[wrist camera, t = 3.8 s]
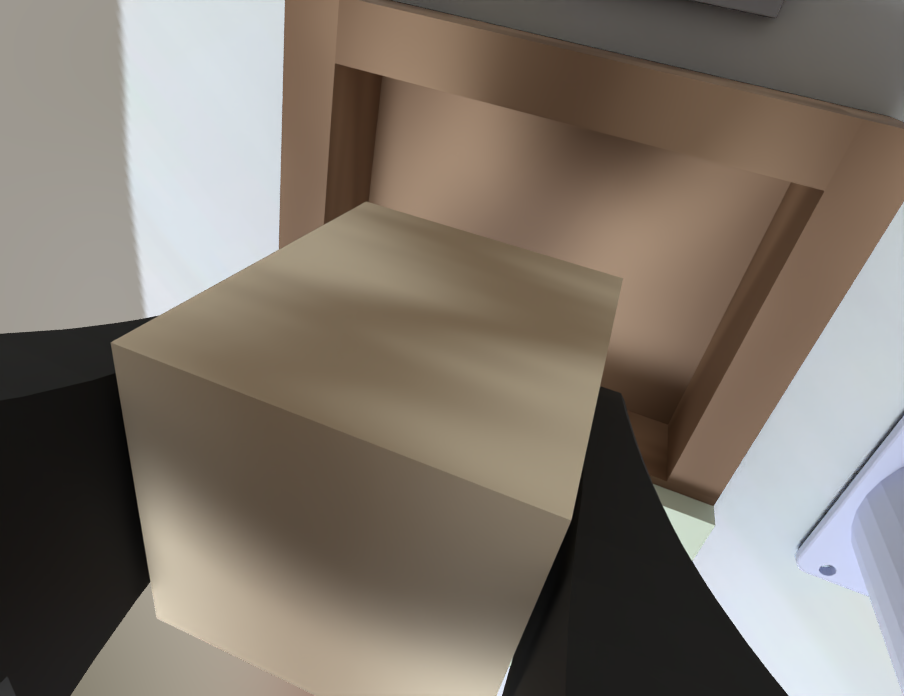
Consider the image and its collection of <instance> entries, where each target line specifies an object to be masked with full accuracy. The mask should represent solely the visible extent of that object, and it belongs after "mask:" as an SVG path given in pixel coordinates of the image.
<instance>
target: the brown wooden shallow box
mask: <svg viewBox="0 0 904 696" xmlns="http://www.w3.org/2000/svg"><path fill="white" fill-rule="evenodd" d="M364 202H370V203H373V204H376V205H380V206H383V207H386V208H390V209H393V210H396V211H400V212H403V213H406V214H410V215H413V216H416V217H420V218H423V219H426V220H430V221H433V222H436V223H440V224H443V225H446V226H450V227H453V228H456V229H460V230H463V231H466V232H470V233H473V234H477V235H480V236H483V237H487V238H490V239H493V240H497V241H500V242H503V243H507V244H510V245H513V246H517V247H520V248H523V249H527V250H530V251H533V252H537V253H540V254H543V255H547V256H550V257H553V258H557V259H560V260H563V261H567V262H570V263H573V264H577V265H580V266H583V267H587V268H590V269H593V270H597V271H600V272H604V273H607V274H610V275H614V276H617V277H620V278H623V281H622V286H621V290H620V295H619V300H618V304H617V309H616V314H615V318H614V323H613V328H612V332H611V337H610V342H609V347H608V351H607V356H606V361H605V365H604V370H603V375H602V379H601V384H600V386H601V387H604V388H607V389H610V390H613V391H616V392H619V393H621V394H622V396H623V398H624V400H625V404H626V408H627V412H628V415H629V419H630V422H631V425H632V429H633V432H634V435H635V438H636V441H637V444H638V447H639V449H640V452H641V455H642V458H643V460H644V463H645V465H646V468H647V470H648V473H649V475H650V478H651V480H652V483H653V484H655V485H657V486H660V487H663V488H665V489H668V490H671V491H674V492H676V493H679V494H682V495H684V496H687V497H690V498H692V499H695V500H698V501H701V502H703V503H706V504H709V505H711V506H714V504H715V503H716V501H717V500H718V498H719V496H720V495H721V493H722V492H723V490H724V488H725V487H726V485H727V484H728V482H729V480H730V479H731V477H732V476H733V474H734V472H735V471H736V469H737V468H738V466H739V464H740V463H741V461H742V459H743V458H744V456H745V455H746V453H747V451H748V450H749V448H750V447H751V445H752V443H753V442H754V440H755V439H756V437H757V435H758V434H759V432H760V431H761V429H762V427H763V426H764V424H765V423H766V421H767V419H768V418H769V416H770V415H771V413H772V411H773V410H774V408H775V407H776V405H777V403H778V402H779V400H780V399H781V397H782V395H783V394H784V392H785V391H786V389H787V387H788V386H789V384H790V383H791V381H792V379H793V378H794V376H795V375H796V373H797V371H798V370H799V368H800V367H801V365H802V363H803V362H804V360H805V359H806V357H807V355H808V354H809V352H810V351H811V349H812V347H813V346H814V344H815V343H816V341H817V339H818V338H819V336H820V335H821V333H822V331H823V330H824V328H825V327H826V325H827V323H828V322H829V320H830V319H831V317H832V315H833V314H834V312H835V311H836V309H837V307H838V306H839V304H840V303H841V301H842V299H843V298H844V296H845V295H846V293H847V291H848V290H849V288H850V287H851V285H852V283H853V282H854V280H855V279H856V277H857V275H858V274H859V272H860V271H861V269H862V267H863V266H864V264H865V263H866V261H867V259H868V258H869V256H870V255H871V253H872V251H873V250H874V248H875V247H876V245H877V243H878V242H879V240H880V239H881V237H882V235H883V234H884V232H885V231H886V229H887V227H888V226H889V224H890V223H891V221H892V219H893V218H894V216H895V215H896V213H897V211H898V210H899V208H900V207H901V205H902V203H903V202H904V122H902V121H899V120H897V119H894V118H892V117H889V116H885V115H881V114H877V113H872V112H868V111H864V110H859V109H855V108H851V107H847V106H842V105H838V104H834V103H829V102H825V101H821V100H817V99H812V98H808V97H804V96H799V95H795V94H791V93H786V92H782V91H778V90H774V89H769V88H765V87H761V86H756V85H752V84H748V83H744V82H739V81H735V80H731V79H726V78H722V77H718V76H713V75H709V74H705V73H701V72H696V71H692V70H688V69H683V68H679V67H675V66H671V65H666V64H662V63H658V62H653V61H649V60H645V59H641V58H636V57H632V56H628V55H623V54H619V53H615V52H610V51H606V50H602V49H598V48H593V47H589V46H585V45H580V44H576V43H572V42H568V41H563V40H559V39H555V38H550V37H546V36H542V35H538V34H533V33H529V32H525V31H520V30H516V29H512V28H507V27H503V26H499V25H495V24H490V23H486V22H482V21H477V20H473V19H469V18H465V17H460V16H456V15H452V14H447V13H443V12H439V11H434V10H430V9H426V8H422V7H417V6H413V5H409V4H404V3H400V2H396V1H392V0H285V23H284V64H283V104H282V144H281V185H280V225H279V249H281V248H283V247H285V246H287V245H288V244H290V243H292V242H294V241H296V240H297V239H299V238H301V237H303V236H305V235H306V234H308V233H310V232H312V231H314V230H316V229H317V228H319V227H321V226H323V225H325V224H326V223H328V222H330V221H332V220H334V219H335V218H337V217H339V216H341V215H343V214H345V213H346V212H348V211H350V210H352V209H354V208H355V207H357V206H359V205H361V204H363V203H364Z"/></svg>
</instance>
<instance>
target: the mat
mask: <svg viewBox="0 0 904 696" xmlns="http://www.w3.org/2000/svg"><path fill="white" fill-rule="evenodd" d="M691 1H695V2H700V3H705V4H710V5H714V6H719V7H724V8H729V9H733V10H738V11H743V12H748V13H752V14H757V15H762V16H767V17H771V18H777V16H778V13H779V11H780V9H781V6H782V4H783V1H784V0H691Z"/></svg>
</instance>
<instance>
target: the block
mask: <svg viewBox="0 0 904 696" xmlns="http://www.w3.org/2000/svg"><path fill="white" fill-rule="evenodd" d="M622 281H623V278H620V277H617V276H614V275H610V274H607V273H604V272H600V271H597V270H593V269H590V268H587V267H583V266H580V265H577V264H573V263H570V262H567V261H563V260H560V259H557V258H553V257H550V256H547V255H543V254H540V253H537V252H533V251H530V250H527V249H523V248H520V247H517V246H513V245H510V244H507V243H503V242H500V241H497V240H493V239H490V238H487V237H483V236H480V235H477V234H473V233H470V232H466V231H463V230H460V229H456V228H453V227H450V226H446V225H443V224H440V223H436V222H433V221H430V220H426V219H423V218H420V217H416V216H413V215H410V214H406V213H403V212H400V211H396V210H393V209H390V208H386V207H383V206H380V205H376V204H373V203H370V202H364V203H363V204H361V205H359V206H357V207H355V208H354V209H352V210H350V211H348V212H346V213H345V214H343V215H341V216H339V217H337V218H335V219H334V220H332V221H330V222H328V223H326V224H325V225H323V226H321V227H319V228H317V229H316V230H314V231H312V232H310V233H308V234H306V235H305V236H303V237H301V238H299V239H297V240H296V241H294V242H292V243H290V244H288V245H287V246H285V247H283V248H281V249H279V250H277V251H276V252H274V253H272V254H270V255H268V256H267V257H265V258H263V259H261V260H259V261H257V262H256V263H254V264H252V265H250V266H248V267H247V268H245V269H243V270H241V271H239V272H238V273H236V274H234V275H232V276H230V277H228V278H227V279H225V280H223V281H221V282H219V283H218V284H216V285H214V286H212V287H210V288H209V289H207V290H205V291H203V292H201V293H199V294H198V295H196V296H194V297H192V298H190V299H189V300H187V301H185V302H183V303H181V304H180V305H178V306H176V307H174V308H172V309H170V310H169V311H167V312H165V313H163V314H161V315H160V316H158V317H156V318H154V319H152V320H151V321H149V322H147V323H145V324H143V325H141V326H140V327H138V328H136V329H134V330H132V331H131V332H129V333H127V334H125V335H123V336H122V337H120V338H118V339H116V340H114V341H112V342H111V348H112V354H113V360H114V366H115V372H116V378H117V384H118V390H119V396H120V402H121V408H122V414H123V420H124V426H125V432H126V438H127V444H128V450H129V456H130V462H131V468H132V474H133V480H134V486H135V492H136V498H137V504H138V510H139V516H140V522H141V528H142V534H143V540H144V546H145V552H146V558H147V564H148V570H149V576H150V582H151V587H152V594H153V600H154V605H155V612H156V618H157V619H159V620H161V621H163V622H165V623H167V624H170V625H172V626H174V627H176V628H178V629H180V630H182V631H184V632H186V633H188V634H190V635H192V636H194V637H196V638H198V639H200V640H202V641H204V642H206V643H208V644H210V645H212V646H215V647H217V648H219V649H221V650H223V651H225V652H227V653H229V654H231V655H233V656H235V657H237V658H239V659H241V660H243V661H245V662H247V663H249V664H252V665H253V666H255V667H258V668H260V669H262V670H264V671H266V672H268V673H270V674H272V675H274V676H276V677H278V678H280V679H282V680H284V681H287V682H288V683H290V684H292V685H295V686H296V687H299V688H301V689H303V690H305V691H307V692H309V693H311V694H313V695H315V696H496V695H497V693H498V690H499V688H500V686H501V683H502V681H503V679H504V676H505V674H506V672H507V669H508V667H509V665H510V662H511V660H512V658H513V655H514V653H515V651H516V648H517V646H518V644H519V641H520V639H521V637H522V634H523V632H524V630H525V627H526V625H527V623H528V620H529V618H530V616H531V613H532V611H533V609H534V606H535V604H536V602H537V599H538V597H539V595H540V592H541V590H542V588H543V585H544V583H545V581H546V578H547V576H548V574H549V571H550V569H551V567H552V564H553V562H554V560H555V557H556V555H557V553H558V550H559V548H560V546H561V543H562V541H563V539H564V536H565V534H566V532H567V529H568V527H569V525H570V522H571V520H572V515H573V510H574V506H575V501H576V496H577V492H578V487H579V482H580V478H581V473H582V468H583V464H584V459H585V454H586V449H587V445H588V440H589V435H590V431H591V426H592V421H593V417H594V412H595V407H596V403H597V398H598V393H599V389H600V384H601V379H602V375H603V370H604V365H605V361H606V356H607V351H608V347H609V342H610V337H611V332H612V328H613V323H614V318H615V314H616V309H617V304H618V300H619V295H620V290H621V286H622Z"/></svg>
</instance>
